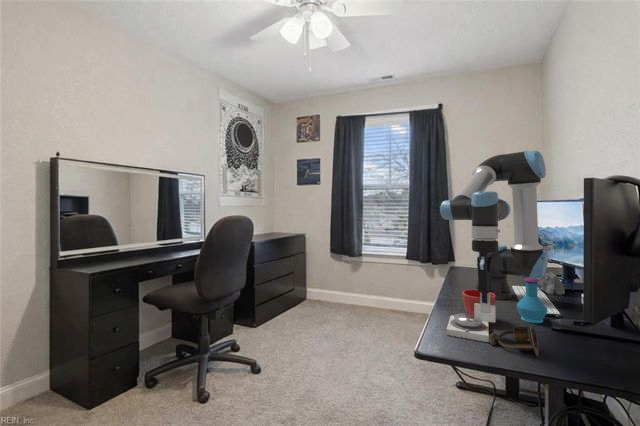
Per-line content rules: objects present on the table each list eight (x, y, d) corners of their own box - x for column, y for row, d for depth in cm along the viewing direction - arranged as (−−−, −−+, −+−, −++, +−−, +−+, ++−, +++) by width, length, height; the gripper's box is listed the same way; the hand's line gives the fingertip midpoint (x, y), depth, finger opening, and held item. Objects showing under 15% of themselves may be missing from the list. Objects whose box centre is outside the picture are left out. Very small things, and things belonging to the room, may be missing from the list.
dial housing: (450, 320, 111) (450, 314, 111) (488, 326, 105) (488, 319, 105) (446, 335, 98) (446, 327, 98) (488, 342, 93) (488, 334, 92)
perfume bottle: (543, 317, 113) (543, 277, 112) (550, 326, 104) (550, 282, 104) (514, 313, 116) (514, 275, 116) (519, 322, 108) (518, 280, 108)
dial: (452, 325, 100) (452, 304, 100) (456, 317, 107) (455, 297, 107) (495, 332, 94) (495, 310, 94) (495, 323, 101) (495, 302, 101)
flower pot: (500, 325, 105) (500, 298, 105) (466, 323, 107) (466, 296, 107) (490, 315, 116) (489, 289, 115) (459, 313, 118) (459, 288, 118)
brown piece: (531, 343, 80) (548, 326, 85) (483, 323, 91) (501, 310, 96) (531, 366, 82) (547, 349, 87) (484, 344, 92) (501, 330, 97)
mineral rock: (536, 287, 154) (536, 267, 154) (563, 290, 148) (563, 269, 148) (536, 293, 143) (536, 272, 143) (565, 296, 137) (565, 274, 137)
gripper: (495, 241, 90) (495, 320, 90) (500, 238, 100) (501, 309, 100) (467, 240, 95) (468, 315, 95) (475, 237, 105) (476, 305, 105)
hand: (485, 312), depth 97 cm, fingers closed
